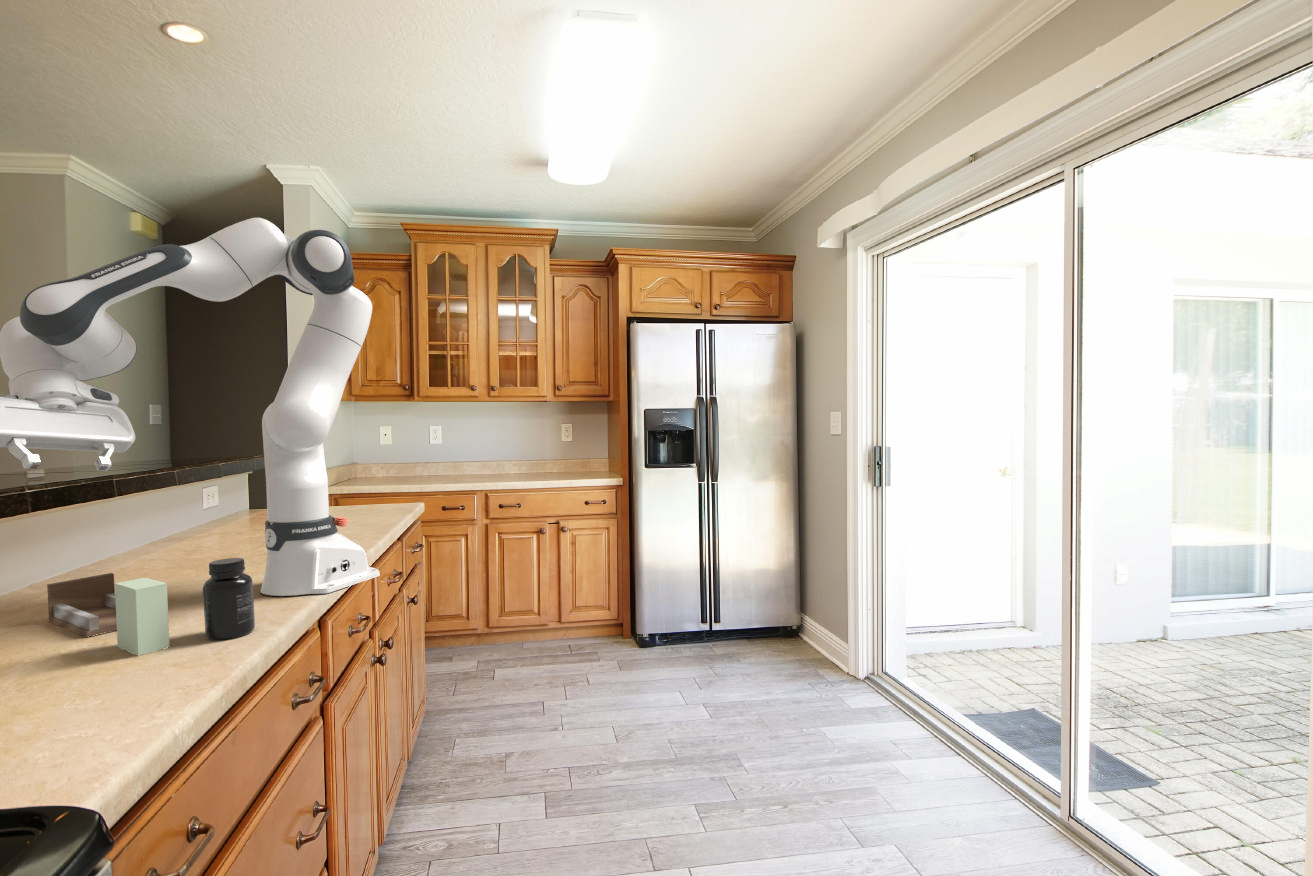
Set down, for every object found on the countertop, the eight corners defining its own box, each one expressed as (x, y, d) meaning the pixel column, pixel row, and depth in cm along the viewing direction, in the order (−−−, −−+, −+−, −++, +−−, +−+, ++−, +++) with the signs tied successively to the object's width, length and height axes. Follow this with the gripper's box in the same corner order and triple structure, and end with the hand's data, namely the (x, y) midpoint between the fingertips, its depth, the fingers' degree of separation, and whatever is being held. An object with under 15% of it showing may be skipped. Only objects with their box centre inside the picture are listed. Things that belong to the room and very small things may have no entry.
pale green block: (117, 647, 101) (114, 583, 101) (148, 639, 105) (145, 577, 104) (138, 656, 98) (135, 589, 97) (169, 647, 101) (166, 583, 101)
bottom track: (49, 621, 114) (47, 584, 113) (112, 607, 121) (111, 572, 121) (87, 637, 106) (85, 597, 105) (153, 621, 113) (151, 584, 113)
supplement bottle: (249, 623, 112) (246, 553, 111) (259, 633, 107) (257, 560, 106) (200, 633, 107) (197, 560, 107) (209, 644, 102) (206, 567, 102)
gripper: (-27, 378, 99) (-8, 452, 95) (128, 396, 118) (150, 458, 114) (-45, 403, 101) (-27, 477, 97) (110, 417, 120) (131, 479, 116)
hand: (70, 467), depth 106 cm, fingers open, 8 cm apart
